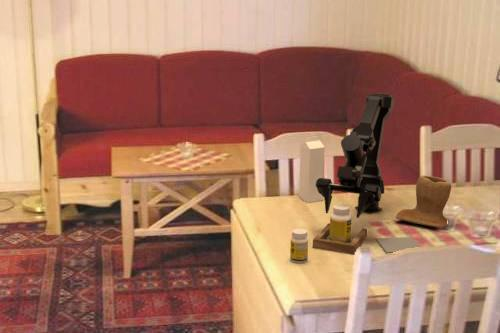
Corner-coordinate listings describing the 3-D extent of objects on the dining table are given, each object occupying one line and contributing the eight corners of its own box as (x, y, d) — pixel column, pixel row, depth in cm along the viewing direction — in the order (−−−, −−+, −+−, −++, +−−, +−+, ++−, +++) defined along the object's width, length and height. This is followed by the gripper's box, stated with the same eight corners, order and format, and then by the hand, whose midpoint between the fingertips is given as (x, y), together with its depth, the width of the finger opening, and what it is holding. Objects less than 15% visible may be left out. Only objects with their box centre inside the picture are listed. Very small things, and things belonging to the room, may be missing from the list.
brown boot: (454, 222, 235) (458, 176, 231) (441, 233, 225) (445, 185, 221) (409, 213, 243) (412, 168, 239) (394, 223, 233) (397, 177, 229)
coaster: (375, 240, 219) (375, 238, 218) (411, 238, 220) (411, 236, 220) (386, 254, 208) (386, 252, 208) (424, 252, 209) (424, 250, 209)
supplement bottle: (289, 256, 206) (289, 228, 203) (305, 256, 206) (306, 227, 204) (291, 263, 201) (292, 234, 199) (308, 263, 201) (309, 234, 199)
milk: (322, 200, 254) (325, 138, 249) (308, 203, 252) (310, 139, 246) (312, 195, 260) (315, 134, 254) (298, 198, 257) (300, 136, 251)
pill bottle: (349, 247, 213) (351, 211, 210) (328, 245, 214) (329, 209, 211) (351, 240, 219) (353, 204, 216) (330, 238, 220) (331, 202, 217)
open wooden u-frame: (328, 231, 226) (328, 223, 225) (367, 236, 221) (367, 228, 220) (312, 247, 212) (312, 239, 212) (353, 254, 208) (353, 246, 207)
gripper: (318, 151, 218) (305, 197, 212) (381, 158, 211) (369, 206, 204) (325, 170, 228) (313, 215, 221) (386, 178, 220) (374, 224, 214)
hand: (341, 214), depth 215 cm, fingers open, 9 cm apart
